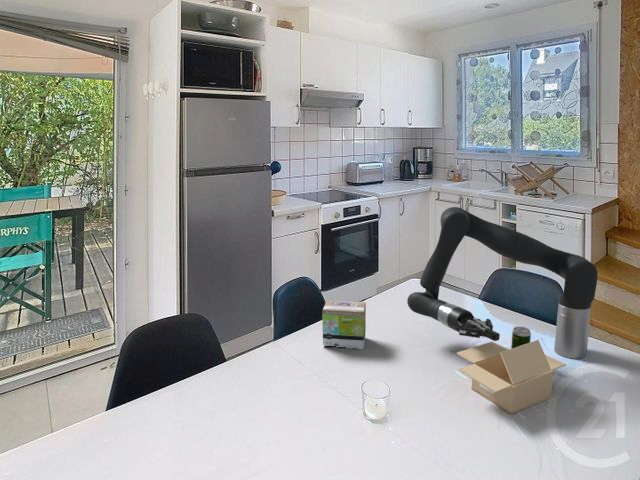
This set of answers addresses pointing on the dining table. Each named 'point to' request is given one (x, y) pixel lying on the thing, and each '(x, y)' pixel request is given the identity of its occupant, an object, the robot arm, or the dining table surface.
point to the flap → (525, 361)
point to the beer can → (520, 336)
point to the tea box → (344, 324)
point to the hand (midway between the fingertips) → (497, 337)
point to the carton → (505, 379)
